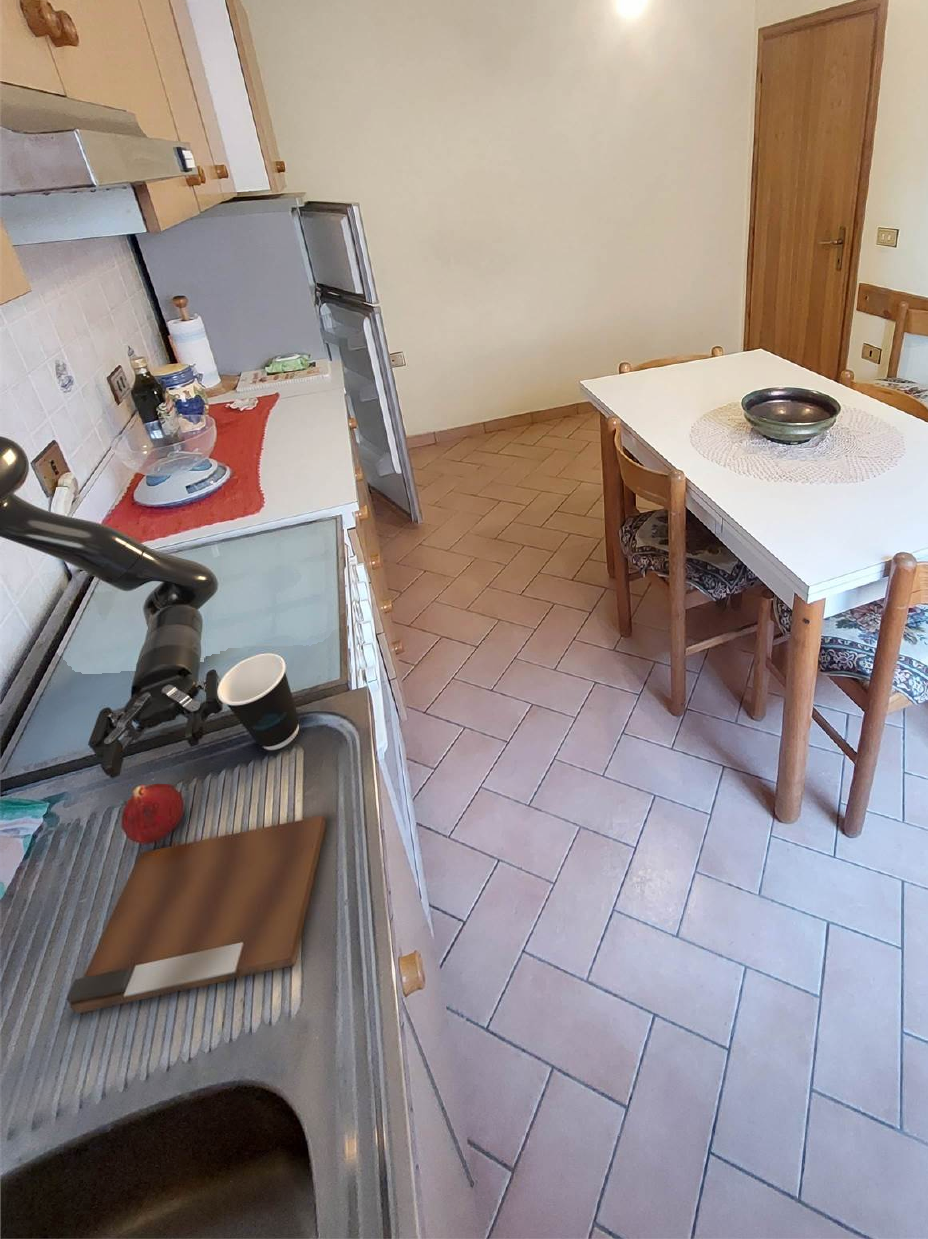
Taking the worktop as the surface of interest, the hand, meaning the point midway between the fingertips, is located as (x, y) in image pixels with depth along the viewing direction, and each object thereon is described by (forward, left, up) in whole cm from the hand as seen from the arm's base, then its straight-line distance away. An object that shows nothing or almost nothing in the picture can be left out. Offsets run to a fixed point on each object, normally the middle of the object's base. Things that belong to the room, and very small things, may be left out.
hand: (152, 757), depth 77 cm
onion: (+2, -6, -6) cm, 9 cm away
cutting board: (+11, -16, -6) cm, 20 cm away
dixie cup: (+12, +5, -6) cm, 14 cm away
